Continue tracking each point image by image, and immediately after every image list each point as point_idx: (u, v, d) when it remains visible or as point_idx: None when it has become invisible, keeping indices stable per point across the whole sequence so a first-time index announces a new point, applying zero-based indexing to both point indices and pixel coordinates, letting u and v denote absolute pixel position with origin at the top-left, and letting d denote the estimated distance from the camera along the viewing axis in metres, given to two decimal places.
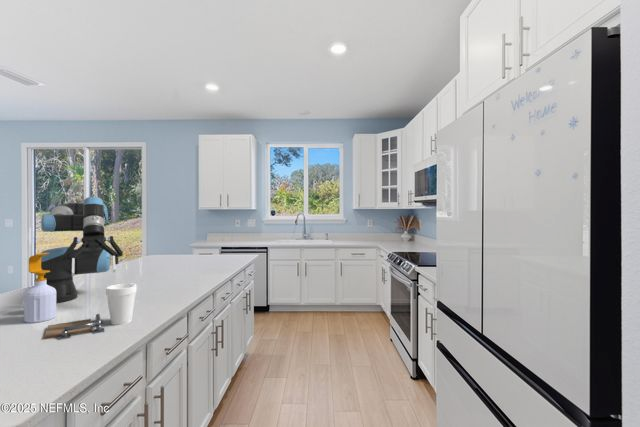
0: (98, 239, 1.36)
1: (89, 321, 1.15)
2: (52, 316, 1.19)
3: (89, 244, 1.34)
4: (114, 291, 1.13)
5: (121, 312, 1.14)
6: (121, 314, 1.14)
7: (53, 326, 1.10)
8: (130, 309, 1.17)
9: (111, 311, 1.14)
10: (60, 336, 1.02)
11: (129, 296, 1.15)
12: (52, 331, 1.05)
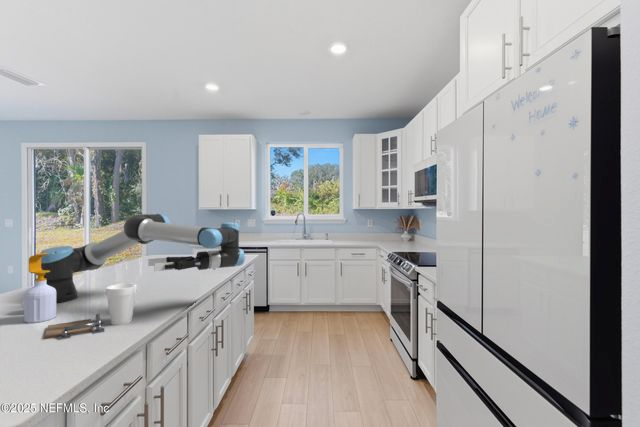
0: None
1: (89, 321, 1.15)
2: (52, 316, 1.19)
3: None
4: (114, 291, 1.13)
5: (121, 312, 1.14)
6: (121, 314, 1.14)
7: (53, 326, 1.10)
8: (130, 309, 1.17)
9: (111, 311, 1.14)
10: (60, 336, 1.02)
11: (129, 296, 1.15)
12: (52, 331, 1.05)
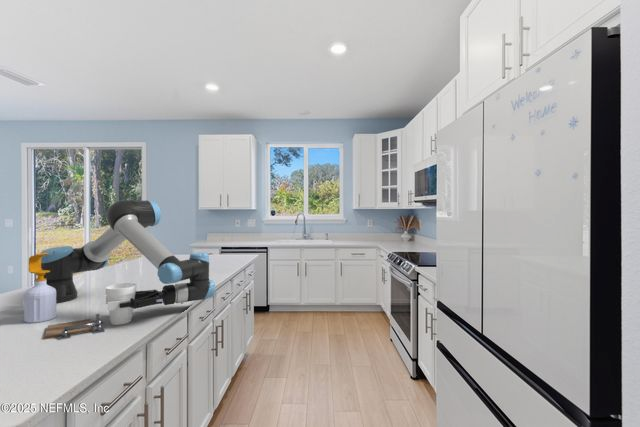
0: None
1: (89, 321, 1.15)
2: (52, 316, 1.19)
3: None
4: (114, 291, 1.13)
5: (121, 311, 1.14)
6: (121, 314, 1.14)
7: (53, 326, 1.10)
8: (130, 309, 1.17)
9: (111, 311, 1.14)
10: (60, 336, 1.02)
11: (129, 296, 1.16)
12: (52, 331, 1.05)
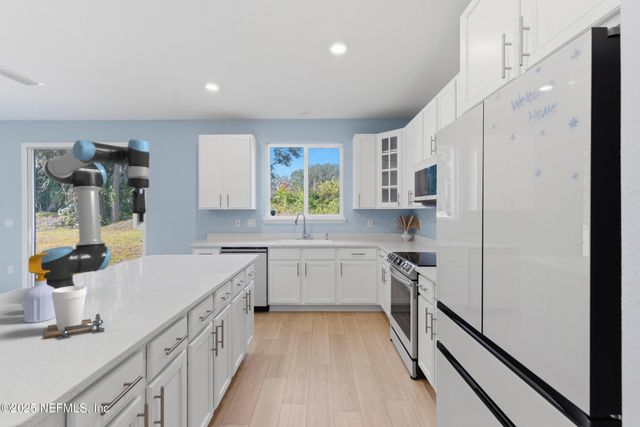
0: None
1: (89, 321, 1.15)
2: (52, 316, 1.19)
3: None
4: (59, 294, 1.05)
5: (68, 316, 1.06)
6: (68, 319, 1.06)
7: (53, 326, 1.10)
8: (78, 313, 1.09)
9: (57, 316, 1.06)
10: (60, 336, 1.02)
11: (77, 300, 1.07)
12: (52, 331, 1.05)
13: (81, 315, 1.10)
